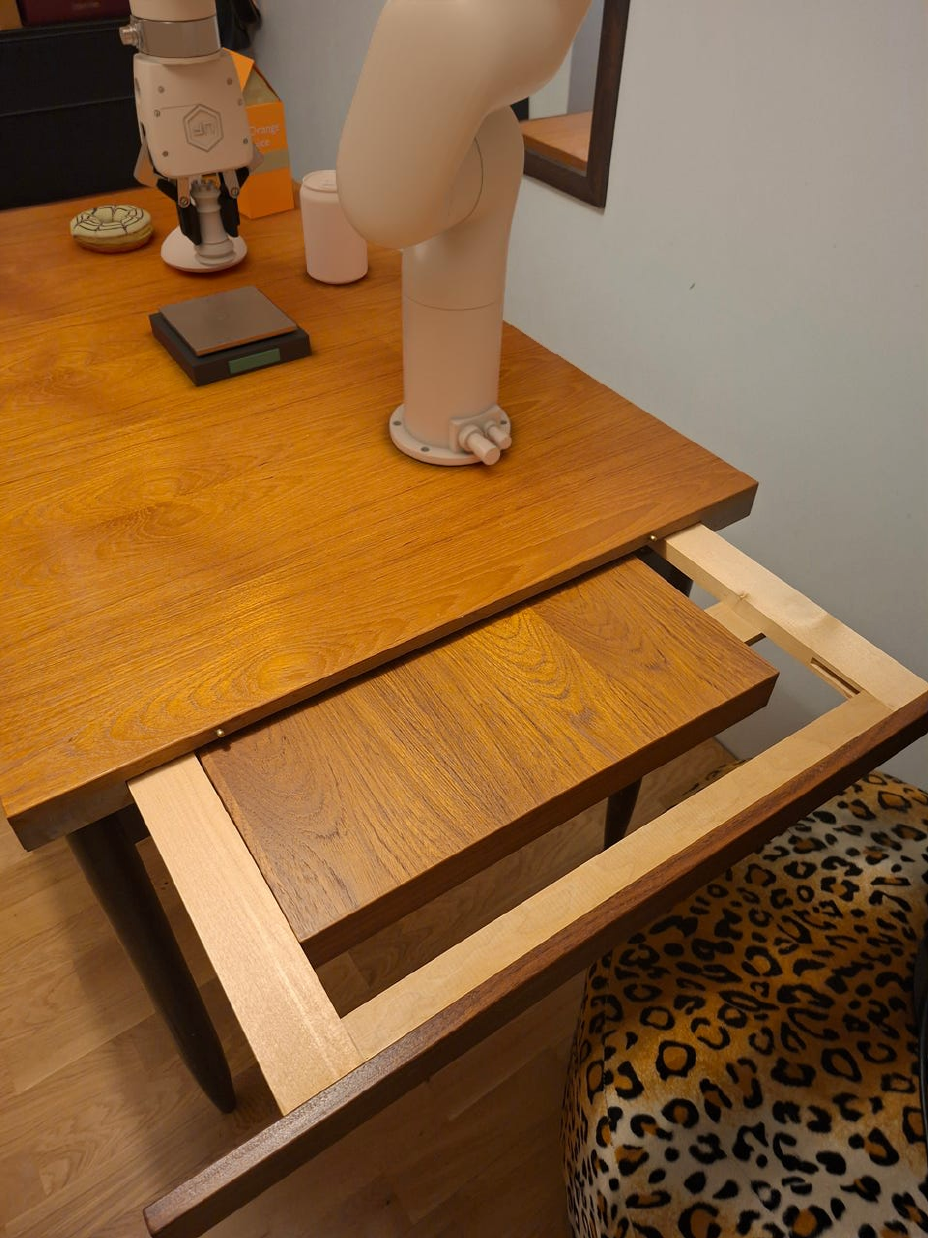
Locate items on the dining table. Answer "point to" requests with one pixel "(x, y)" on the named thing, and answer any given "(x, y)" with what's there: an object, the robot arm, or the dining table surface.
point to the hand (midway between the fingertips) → (212, 235)
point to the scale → (230, 353)
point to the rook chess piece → (211, 226)
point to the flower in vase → (182, 251)
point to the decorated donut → (112, 228)
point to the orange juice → (264, 145)
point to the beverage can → (329, 232)
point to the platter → (226, 320)
